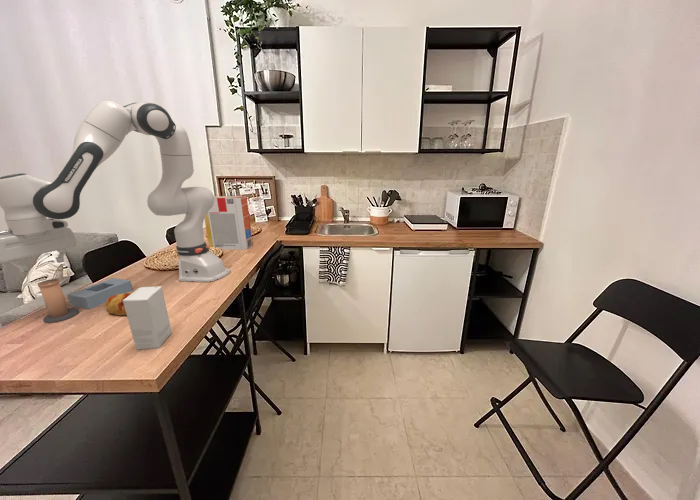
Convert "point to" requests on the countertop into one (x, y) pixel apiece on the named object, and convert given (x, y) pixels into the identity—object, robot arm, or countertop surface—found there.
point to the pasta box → (229, 223)
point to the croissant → (117, 304)
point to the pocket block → (99, 293)
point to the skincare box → (148, 317)
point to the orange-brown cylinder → (53, 298)
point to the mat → (52, 320)
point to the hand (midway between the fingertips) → (43, 266)
